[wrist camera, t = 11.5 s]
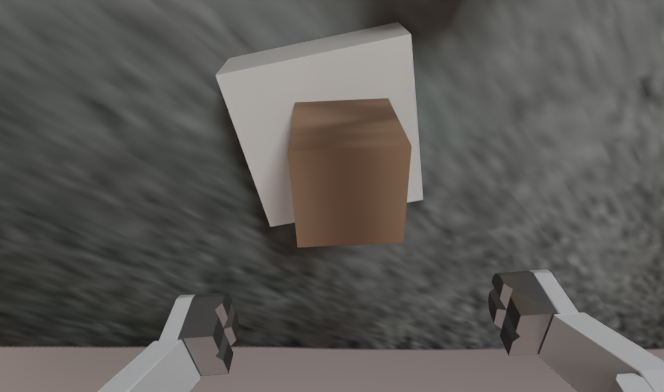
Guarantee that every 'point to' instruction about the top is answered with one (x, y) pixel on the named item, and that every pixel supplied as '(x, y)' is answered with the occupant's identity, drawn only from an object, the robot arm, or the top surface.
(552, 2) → the top surface
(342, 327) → the top surface
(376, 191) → the walnut block
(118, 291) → the top surface
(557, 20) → the top surface
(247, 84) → the stone slab
